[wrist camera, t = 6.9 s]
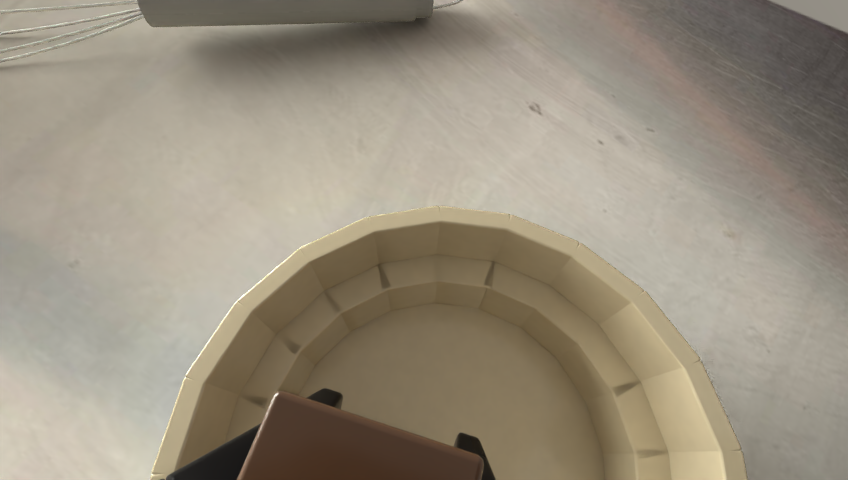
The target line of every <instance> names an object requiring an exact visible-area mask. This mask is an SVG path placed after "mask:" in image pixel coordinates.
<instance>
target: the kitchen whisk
mask: <svg viewBox="0 0 848 480" xmlns="http://www.w3.org/2000/svg"><path fill="white" fill-rule="evenodd" d="M461 1H463V0H458V1H455V2H452V3H449V4H445V5H440V6H434V7H433V0H136V1H124V2H112V3H100V4H87V5H74V6H61V7H47V8H33V9H19V10H5V11H0V14H10V13H24V12H37V11H51V10H64V9H77V8H89V7H102V6H114V5H125V4H137V3H138V5H139V7H140V8H136V9H132V10H128V11H123V12H119V13H114V14H109V15H105V16H100V17H95V18H90V19H84V20H79V21H74V22H68V23H63V24H56V25H50V26H44V27H37V28H31V29H23V30H15V31H7V32H0V35H5V34H13V33H21V32H29V31H37V30H43V29H49V28H55V27H62V26H68V25H73V24H79V23H84V22H89V21H95V20H100V19H104V18H109V17H114V16H119V15H123V14H128V13H132V12H136V11H141V12H138V13H135V14H132V15H129V16H126V17H123V18H120V19H116V20H113V21H110V22H107V23H103V24H100V25H96V26H93V27H90V28H86V29H83V30H79V31H76V32H72V33H68V34H64V35H61V36H57V37H53V38H49V39H46V40H42V41H38V42H34V43H29V44H25V45H20V46H16V47H12V48H7V49H3V50H0V53H4V52H9V51H13V50H17V49H22V48H26V47H30V46H35V45H39V44H43V43H47V42H51V41H54V40H58V39H62V38H66V37H69V36H73V35H77V34H81V33H84V32H87V31H91V30H94V29H98V28H101V27H104V26H108V25H111V24H114V23H117V22H121V21H124V20H127V19H130V18H133V17H136V16H139V15H141V16H139V17H136V18H134V19H131V20H129V21H126V22H124V23H121V24H119V25H116V26H113V27H110V28H108V29H105V30H102V31H99V32H97V33H94V34H91V35H88V36H85V37H82V38H79V39H76V40H72V41H69V42H66V43H63V44H60V45H57V46H53V47H49V48H46V49H42V50H38V51H35V52H31V53H27V54H24V55H19V56H15V57H10V58H5V59H1V60H0V62H5V61H10V60H14V59H19V58H24V57H28V56H31V55H35V54H39V53H42V52H46V51H49V50H53V49H57V48H60V47H64V46H67V45H70V44H73V43H76V42H79V41H82V40H85V39H88V38H91V37H94V36H97V35H100V34H103V33H105V32H108V31H111V30H114V29H116V28H119V27H122V26H124V25H127V24H129V23H132V22H135V21H137V20H140V19H142V18H145V19H146V21H147V22H148V24H149V25H150V26H152V27H182V26H226V25H270V24H314V23H357V22H401V21H415V18H419V17H431V15H432V11H433V9H438V8H443V7H447V6H451V5H454V4H457V3H459V2H461ZM142 14H143V15H142Z"/></svg>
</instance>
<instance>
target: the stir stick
mask: <svg viewBox="0 0 848 480" xmlns="http://www.w3.org/2000/svg"><path fill="white" fill-rule="evenodd" d="M483 470H484V462H483V459H482V458H481V457H480V456H479V455H478V454H475V453H471V452H468V451H465V450H462V449H459V448H456V447H453V446H450V445H447V444H444V443H441V442H438V441H435V440H432V439H429V438H426V437H423V436H420V435H417V434H414V433H411V432H408V431H405V430H402V429H399V428H396V427H393V426H390V425H387V424H384V423H381V422H377V421H374V420H371V419H368V418H365V417H362V416H359V415H356V414H353V413H350V412H347V411H344V410H341V409H338V408H335V407H332V406H329V405H326V404H323V403H320V402H317V401H314V400H311V399H308V398H305V397H302V396H299V395H296V394H293V393H290V392H287V391H277V392H276V394H275V395H274V396H273V397H272V400H271V402H270V404H269V406H268V409H267V411H266V413H265V416H264V418H263V420H262V423H261V425H260V427H259V430H258V432H257V434H256V437H255V439H254V441H253V443H252V446H251V448H250V450H249V453H248V455H247V457H246V460H245V462H244V464H243V467H242V469H241V471H240V474H239V476H238V478H237V480H481V479H482V474H483Z"/></svg>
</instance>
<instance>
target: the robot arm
mask: <svg viewBox="0 0 848 480" xmlns="http://www.w3.org/2000/svg"><path fill="white" fill-rule="evenodd" d="M306 398H308V399H311V400H314V401H317V402H320V403H323V404H326V405H329V406H332V407H335V408H338V409H341V406H342V401H343V395H342V394H341V393H340V392H337V391H334V390H331V389H327V388H323V389H321V390H319V391H317V392H315V393H314V394H312V395H310V396H308V397H306ZM260 425H261V423H260V424H258V425H257V426H255V427H253V428H251V429H249V430H248V431H246V432H244V433H242V434H240V435H239V436H237V437H235V438H233V439H232V440H230V441H228V442H226V443H224V444H223V445H221V446H219V447H217V448H216V449H214V450H212V451H210V452H208V453H207V454H205V455H203V456H201V457H199V458H198V459H196V460H194V461H192V462H191V463H189V464H187V465H185V466H183V467H182V468H180V469H178V470H176V471H175V472H173V473H171V474H169V475H168V476H167V477H166V480H237V478H238V476H239V474H240V471H241V469H242V467H243V464H244V462H245V460H246V457H247V455H248V453H249V450H250V448H251V446H252V443H253V441H254V439H255V437H256V434H257V432H258V430H259V427H260ZM453 447H456V448H459V449H462V450H465V451H468V452H471V453H475V454H478V455H479V456H480V457H481V458H482V459H483V462H484V470H483V474H482V479H481V480H496V479H495V476H494V474H493V471H492V469H491V466H490V464H489V462H488V459H487V457H486V454H485V452H484V449H483V447H482V444H481V442H480V440H479V439H478V438H477V437H475V436H471V435H468V434H465V433H462V432H460V433H459V434H458V435H457V437H456V440H455V443H454V446H453ZM160 480H165V479H160Z"/></svg>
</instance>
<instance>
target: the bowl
mask: <svg viewBox="0 0 848 480" xmlns="http://www.w3.org/2000/svg"><path fill="white" fill-rule="evenodd" d="M185 376H186V378H184V380H183V383H182V386H181V389H180V392H179V395H178V397H177V400H176V403H175V406H174V409H173V412H172V415H171V417H170V420H169V423H168V426H167V429H166V432H165V435H164V437H163V440H162V443H161V446H160V449H159V452H158V455H157V458H156V460H155V463H154V466H153V469H152V474H153V475H151V477H150V480H160V479H165V480H166V477H167V476H168V475H169V474H171V473H173V472H175V471H176V470H178V469H180V468H182V467H183V466H185V465H187V464H189V463H191V462H192V461H194V460H196V459H198V458H199V457H201V456H203V455H205V454H207V453H208V452H210V451H212V450H214V449H216V448H217V447H219V446H221V445H223V444H224V443H226V442H228V441H230V440H232V439H233V438H235V437H237V436H239V435H240V434H242V433H244V432H246V431H248V430H249V429H251V428H253V427H255V426H257V425H258V424H260V423H262V420H263V418H264V416H265V413H266V411H267V409H268V406H269V404H270V402H271V400H272V397H273V396H274V395H275V394H276V392H277V391H287V392H290V393H293V394H296V395H299V396H302V397H305V398H306V397H308V396H310V395H312V394H314V393H315V392H317V391H319V390H321V389H323V388H327V389H331V390H334V391H337V392H340V393H341V394H342V395H343V401H342V406H341V410H344V411H347V412H350V413H353V414H356V415H359V416H362V417H365V418H368V419H371V420H374V421H377V422H381V423H384V424H387V425H390V426H393V427H396V428H399V429H402V430H405V431H408V432H411V433H414V434H417V435H420V436H423V437H426V438H429V439H432V440H435V441H438V442H441V443H444V444H447V445H450V446H454V443H455V440H456V437H457V435H458V434H459V433H460V432H462V433H465V434H468V435H471V436H475V437H477V438H478V439H479V440H480V442H481V444H482V447H483V449H484V452H485V454H486V457H487V459H488V462H489V464H490V466H491V469H492V471H493V474H494V476H495V479H496V480H748V479H747V473H746V467H745V462H744V456H743V452H742V451H740V450H741V446H740V444H739V442H738V439H737V437H736V435H735V433H734V431H733V429H732V426H731V424H730V422H729V420H728V418H727V416H726V413H725V411H724V409H723V407H722V405H721V403H720V400H719V398H718V396H717V394H716V392H715V389H714V387H713V385H712V383H711V381H710V379H709V376H708V374H707V372H706V370H705V368H704V366H703V363H702V362H701V361H700V358H699V356H698V355H697V354H696V353H695V351H694V350H693V349H692V348H691V346H690V345H689V344H688V343H687V342H686V340H685V339H684V338H683V337H682V335H681V334H680V333H679V332H678V330H677V329H676V328H675V327H674V325H673V324H672V323H671V322H670V320H669V319H668V318H667V317H666V316H665V314H664V313H663V312H662V311H661V309H660V308H659V307H658V306H657V304H656V303H655V302H654V301H653V299H652V298H651V297H650V296H649V294H648V293H647V292H646V291H644V290H643V289H642V288H641V287H639V286H638V285H637V284H635V283H634V282H633V281H631V280H630V279H629V278H627V277H626V276H625V275H623V274H622V273H621V272H619V271H618V270H617V269H615V268H614V267H613V266H611V265H610V264H609V263H607V262H606V261H605V260H603V259H602V258H601V257H599V256H598V255H597V254H595V253H594V252H593V251H591V250H590V249H589V248H587V247H586V246H585V245H583V244H582V243H580V244H579V242H578V241H576V240H574V239H571V238H569V237H566V236H564V235H561V234H559V233H556V232H554V231H551V230H549V229H546V228H544V227H541V226H539V225H536V224H534V223H531V222H529V221H526V220H524V219H522V218H519V217H517V216H514V215H511V216H510V214H505V213H497V212H488V211H480V210H471V209H463V208H455V207H446V206H440V207H439V206H433V207H426V208H420V209H414V210H407V211H401V212H394V213H388V214H382V215H375V216H369V217H366V218H363V219H361V220H359V221H357V222H355V223H352V224H350V225H348V226H346V227H344V228H342V229H339V230H337V231H335V232H333V233H331V234H328V235H326V236H324V237H322V238H320V239H318V240H315V241H313V242H311V243H309V244H307V245H304V246H302V247H300V249H298V250H296V251H295V252H294V253H293V254H292V255H290V256H289V257H288V258H287V259H286V260H285V261H283V262H282V263H281V264H280V265H279V266H277V267H276V268H275V269H274V270H273V271H272V272H270V273H269V274H268V275H267V276H266V277H264V278H263V279H262V280H261V281H260V282H258V283H257V284H256V285H255V286H254V287H253V288H251V289H250V290H249V291H248V292H247V293H245V294H244V295H243V296H242V297H241V298H240V299H238V302H235V304H234V305H233V307H232V308H231V309H230V311H229V312H228V314H227V315H226V317H225V318H224V320H223V321H222V323H221V324H220V325H219V327H218V328H217V330H216V331H215V333H214V334H213V336H212V337H211V339H210V340H209V341H208V343H207V344H206V346H205V347H204V349H203V350H202V352H201V353H200V355H199V356H198V357H197V359H196V360H195V362H194V363H193V365H192V366H191V368H190V369H189V371H188V372H187V373H186V375H185Z"/></svg>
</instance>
